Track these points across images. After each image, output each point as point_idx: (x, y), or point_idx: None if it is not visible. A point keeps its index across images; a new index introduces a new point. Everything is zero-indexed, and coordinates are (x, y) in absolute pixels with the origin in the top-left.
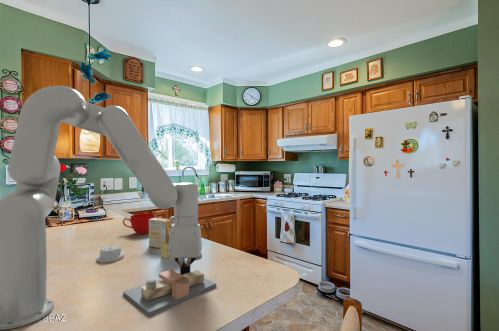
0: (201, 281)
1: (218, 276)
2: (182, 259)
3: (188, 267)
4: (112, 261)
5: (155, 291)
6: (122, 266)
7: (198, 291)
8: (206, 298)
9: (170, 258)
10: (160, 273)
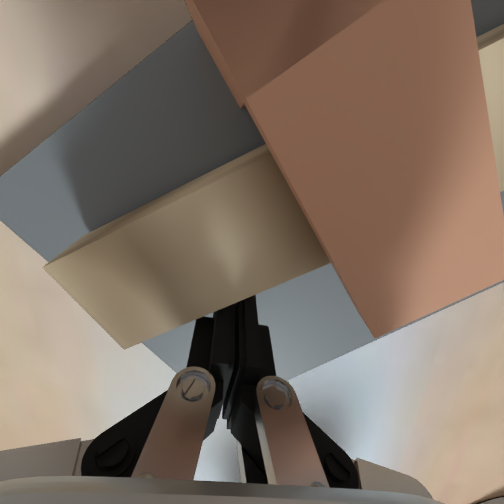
0: (98, 228)
1: (20, 330)
2: (258, 469)
3: (197, 364)
4: (498, 498)
5: None
6: (478, 468)
7: (114, 87)
8: None
9: (406, 487)
10: (501, 268)
